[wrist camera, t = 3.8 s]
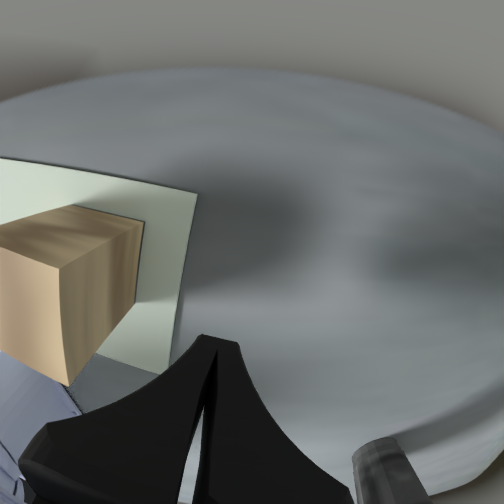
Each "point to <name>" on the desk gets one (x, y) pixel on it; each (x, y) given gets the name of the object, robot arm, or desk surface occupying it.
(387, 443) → the beverage cup
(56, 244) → the tan block
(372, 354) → the desk surface
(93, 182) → the mat
